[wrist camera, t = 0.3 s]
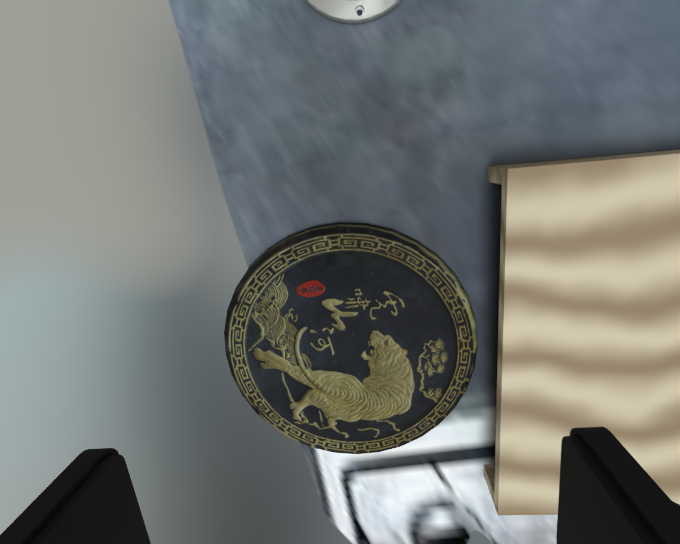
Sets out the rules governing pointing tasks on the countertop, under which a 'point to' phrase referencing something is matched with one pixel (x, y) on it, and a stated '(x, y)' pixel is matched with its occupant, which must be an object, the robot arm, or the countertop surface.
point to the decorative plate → (351, 338)
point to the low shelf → (586, 319)
